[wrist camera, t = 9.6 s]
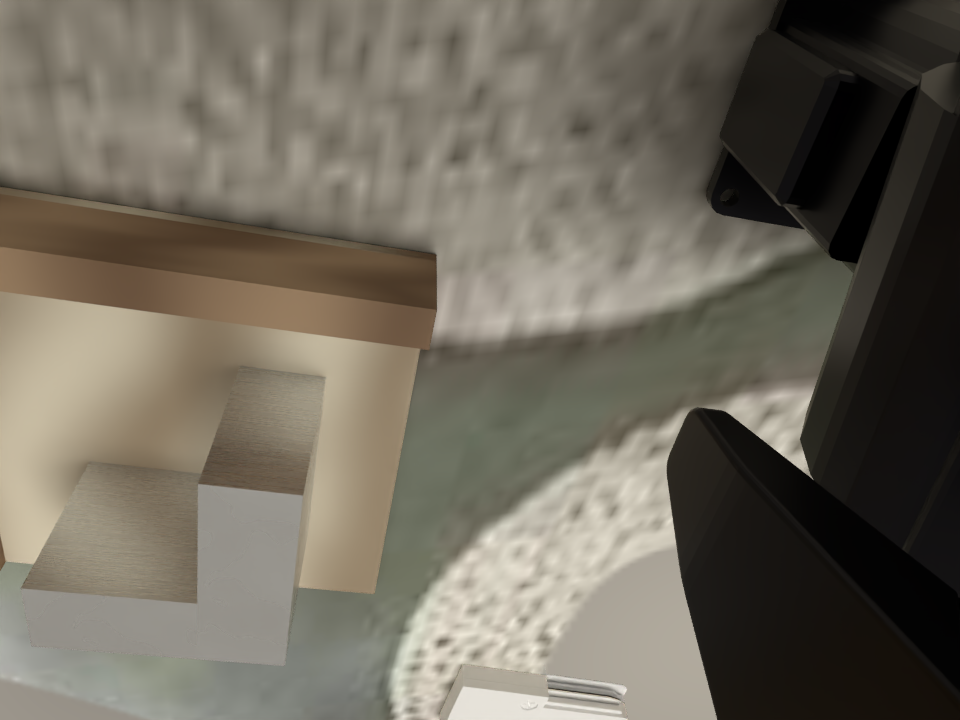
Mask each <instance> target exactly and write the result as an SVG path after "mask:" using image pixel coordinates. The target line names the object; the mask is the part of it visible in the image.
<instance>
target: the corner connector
mask: <svg viewBox="0 0 960 720" xmlns="http://www.w3.org/2000/svg"><path fill="white" fill-rule="evenodd" d="M626 691H627V688H626V686H624V685H623V684H616V683H609V682H603V681H595V680H588V679H581V678H574V677H566V676H559V675H551V674H546V670H545V665H544V668H543V670H542V671H541V672H540V674H532V673H525V672H517V671H510V670H502V669H495V668H487V667H480V666H473V665H465V664H462V666H461V668H460V671H459V673H458V675H457V677H456V679H455V681H454V684H453V686H452V688H451V690H450V692H449V694H448V697H447V699H446V701H445V703H444V705H443V707H442V710H441V712H440V720H628V716H627V711H626V707H625V702H624V698H623V696H624V695H625V693H626Z"/></svg>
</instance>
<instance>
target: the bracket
mask: <svg viewBox="0 0 960 720" xmlns="http://www.w3.org/2000/svg"><path fill="white" fill-rule="evenodd" d="M325 382H326V377H321V376H314V375H306V374H299V373H292V372H284V371H277V370H269V369H262V368H254V367H247V366H240V368H239V371H238V374H237V376H236V379H235V382H234V385H233V387H232V390H231V393H230V396H229V399H228V401H227V404H226V407H225V410H224V413H223V415H222V418H221V421H220V424H219V427H218V429H217V432H216V435H215V438H214V440H213V443H212V446H211V449H210V452H209V454H208V457H207V460H206V463H205V466H204V468H203V471H202V474H201V473H192V472H183V471H174V470H165V469H156V468H148V467H139V466H130V465H121V464H112V463H103V462H94V461H90V462H89V464H88V465H87V467H86V469H85V471H84V473H83V475H82V476H81V478H80V480H79V482H78V484H77V486H76V487H75V489H74V491H73V493H72V495H71V497H70V499H69V500H68V502H67V504H66V506H65V508H64V510H63V511H62V513H61V515H60V517H59V519H58V521H57V523H56V524H55V526H54V528H53V530H52V532H51V534H50V535H49V537H48V539H47V541H46V543H45V545H44V547H43V548H42V550H41V552H40V554H39V556H38V558H37V559H36V561H35V563H34V565H33V567H32V569H31V571H30V572H29V574H28V576H27V578H26V580H25V582H24V583H23V585H22V587H21V592H22V598H23V603H24V608H25V614H26V619H27V625H28V630H29V635H30V641H31V646H32V647H45V648H58V649H71V650H84V651H97V652H110V653H123V654H136V655H149V656H162V657H176V658H189V659H202V660H215V661H228V662H241V663H254V664H267V665H280V666H285V661H286V655H287V650H288V644H289V638H290V633H291V627H292V622H293V616H294V610H295V605H296V599H297V593H298V588H299V582H300V576H301V571H302V565H303V559H304V554H305V548H306V542H307V536H308V528H309V519H310V510H311V502H312V493H313V485H314V476H315V468H316V459H317V451H318V442H319V433H320V425H321V416H322V408H323V399H324V391H325Z"/></svg>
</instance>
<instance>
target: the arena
mask: <svg viewBox="0 0 960 720" xmlns="http://www.w3.org/2000/svg"><path fill="white" fill-rule="evenodd" d="M436 312H437V267H436V255H435V254H428V253H422V252H415V251H409V250H403V249H396V248H390V247H383V246H377V245H371V244H364V243H358V242H351V241H345V240H339V239H332V238H326V237H319V236H313V235H307V234H300V233H294V232H287V231H281V230H274V229H268V228H262V227H255V226H249V225H242V224H236V223H230V222H223V221H217V220H210V219H204V218H198V217H191V216H185V215H178V214H172V213H166V212H159V211H153V210H146V209H140V208H133V207H127V206H121V205H114V204H108V203H101V202H95V201H89V200H82V199H76V198H69V197H63V196H57V195H50V194H44V193H37V192H31V191H24V190H18V189H12V188H5V187H0V570H1V569H2V567H3V565H4V564H5V562H17V563H29V564H34V563H35V561H36V559H37V558H38V556H39V554H40V552H41V550H42V548H43V547H44V545H45V543H46V541H47V539H48V537H49V535H50V534H51V532H52V530H53V528H54V526H55V524H56V523H57V521H58V519H59V517H60V515H61V513H62V511H63V510H64V508H65V506H66V504H67V502H68V500H69V499H70V497H71V495H72V493H73V491H74V489H75V487H76V486H77V484H78V482H79V480H80V478H81V476H82V475H83V473H84V471H85V469H86V467H87V465H88V464H89V462H90V461H94V462H103V463H112V464H121V465H130V466H139V467H148V468H156V469H165V470H174V471H183V472H192V473H201V474H202V471H203V468H204V466H205V463H206V460H207V457H208V454H209V452H210V449H211V446H212V443H213V440H214V438H215V435H216V432H217V429H218V427H219V424H220V421H221V418H222V415H223V413H224V410H225V407H226V404H227V401H228V399H229V396H230V393H231V390H232V387H233V385H234V382H235V379H236V376H237V374H238V371H239V368H240V366H247V367H254V368H262V369H269V370H277V371H284V372H292V373H299V374H306V375H314V376H321V377H326V382H325V391H324V399H323V408H322V416H321V425H320V433H319V442H318V451H317V459H316V468H315V476H314V485H313V493H312V502H311V510H310V519H309V528H308V536H307V542H306V548H305V554H304V559H303V565H302V571H301V576H300V582H299V587H301V588H312V589H324V590H335V591H347V592H358V593H369V594H375V588H376V583H377V578H378V572H379V567H380V562H381V556H382V551H383V546H384V540H385V535H386V529H387V524H388V519H389V513H390V508H391V503H392V497H393V492H394V487H395V481H396V476H397V470H398V465H399V460H400V454H401V449H402V444H403V438H404V433H405V427H406V422H407V417H408V411H409V406H410V401H411V395H412V390H413V385H414V379H415V374H416V368H417V363H418V358H419V352H420V349H424V350H429V348H430V343H431V338H432V332H433V327H434V322H435V317H436Z"/></svg>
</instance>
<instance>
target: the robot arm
mask: <svg viewBox="0 0 960 720" xmlns="http://www.w3.org/2000/svg"><path fill="white" fill-rule="evenodd" d="M720 138H721V140H722V142H723V144H724V147H723V149H722V152H721V154H720V157H719V160H718V162H717V165H716V168H715V170H714V173H713V175H712V178H711V181H710V183H709V186H708V189H707V194H706V196H707V200H708V203H709V204H710V205H711V207H712V208H713V209H714V210H715V211H716V213H719V214H721V215H725V216H731V217H736V218H742V219H748V220H754V221H759V222H765V223H771V224H777V225H782V226H788V227H794V228H800V229H805V230H806V231H807V232H808V233H809V234H810V235H811V236H812V237H813V238H814V239H815V241H816V242H817V243H818V244H819V245H820V246H821V247H822V248H823V249H824V250H825V251H826V252H827V253H828V255H829V256H830V257H832V258H834V259H836V260H839V261H842V262H843V263H844V264H845V265H846V266H847V267H848V268H849V269H850V270H851V271H852V272H853V273H854V275H853V278H852V281H851V284H850V286H849V289H848V292H847V295H846V298H845V301H844V304H843V307H842V310H841V313H840V316H839V319H838V322H837V325H836V327H835V330H834V333H833V336H832V339H831V342H830V345H829V348H828V351H827V354H826V357H825V360H824V363H823V366H822V369H821V371H820V374H819V377H818V380H817V383H816V386H815V389H814V392H813V395H812V398H811V401H810V404H809V407H808V410H807V413H806V417H805V421H804V425H803V429H802V434H801V438H800V441H801V444H802V447H803V451H804V454H805V458H806V461H807V464H808V468H809V471H810V474H811V476H812V478H813V479H814V480H813V479H812V478H810V477H809V476H808V475H806V474H805V473H804V472H803V471H801V470H800V469H799V468H797V467H796V466H795V465H794V464H792V463H791V462H790V461H788V460H787V459H786V458H785V457H783V456H782V455H781V454H780V453H778V452H777V451H776V450H774V449H773V448H772V447H771V446H769V445H768V444H767V443H765V442H764V441H763V440H762V439H760V438H759V437H758V436H756V435H755V434H754V433H753V432H751V431H750V430H749V429H747V428H746V427H745V426H744V425H742V424H741V423H740V422H739V421H737V420H736V419H735V418H733V417H732V416H731V415H730V414H728V413H727V412H725V411H722V410H715V409H707V408H699V407H697V408H694V409H692V410H691V411H690V412H689V413H688V415H687V416H686V418H685V420H684V423H683V425H682V427H681V429H680V432H679V434H678V436H677V438H676V441H675V443H674V445H673V448H672V450H671V452H670V455H669V458H668V462H667V480H668V487H669V494H670V501H671V509H672V516H673V523H674V531H675V538H676V545H677V552H678V559H679V566H680V572H681V578H682V583H683V587H684V591H685V595H686V600H687V604H688V607H689V611H690V615H691V619H692V623H693V627H694V631H695V635H696V639H697V642H698V646H699V650H700V654H701V658H702V662H703V666H704V670H705V674H706V677H707V681H708V685H709V689H710V693H711V697H712V700H713V705H714V708H715V712H716V716H717V720H960V0H779V2H778V5H777V7H776V10H775V12H774V15H773V18H772V20H771V23H770V26H769V28H768V29H766V30H765V31H764V32H762V33H761V34H760V35H758V36H757V37H756V39H755V41H754V44H753V47H752V49H751V52H750V55H749V57H748V60H747V63H746V65H745V68H744V71H743V73H742V76H741V79H740V81H739V84H738V87H737V89H736V92H735V95H734V97H733V100H732V103H731V105H730V108H729V111H728V113H727V116H726V119H725V122H724V124H723V127H722V130H721V132H720ZM733 188H734V189H735V190H734V194H733V196H732V197H731V198H730V199H728V200H726V201H721V200H720V196H721V195H722V193H723V192H724V191H725V190H727V189H733Z"/></svg>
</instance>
